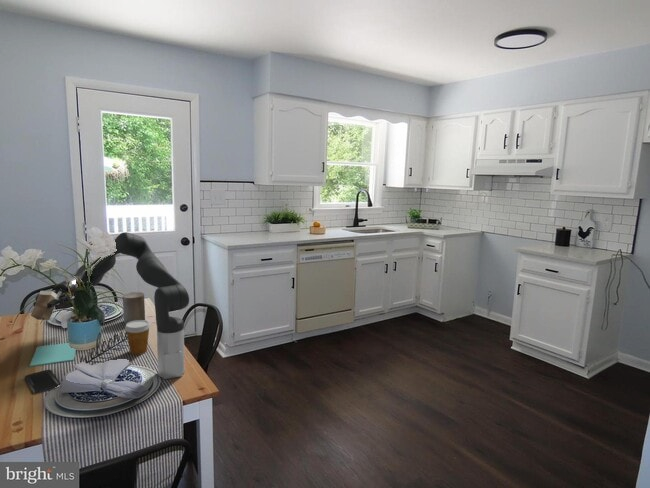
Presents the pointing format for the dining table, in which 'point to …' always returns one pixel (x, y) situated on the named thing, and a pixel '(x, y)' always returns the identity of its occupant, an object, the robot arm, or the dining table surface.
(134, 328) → the disposable coffee cup
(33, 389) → the phone
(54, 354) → the teal mat
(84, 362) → the dining table surface
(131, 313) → the pillar candle
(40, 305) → the walnut block
